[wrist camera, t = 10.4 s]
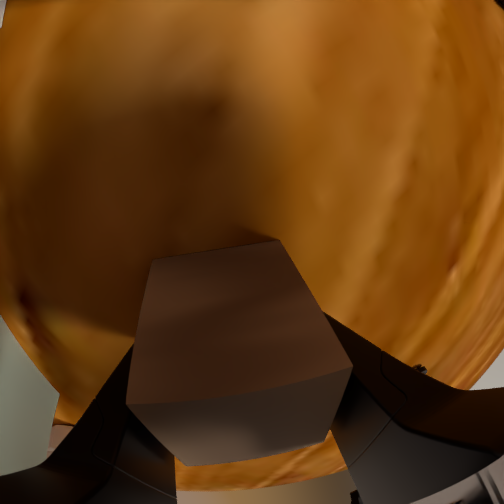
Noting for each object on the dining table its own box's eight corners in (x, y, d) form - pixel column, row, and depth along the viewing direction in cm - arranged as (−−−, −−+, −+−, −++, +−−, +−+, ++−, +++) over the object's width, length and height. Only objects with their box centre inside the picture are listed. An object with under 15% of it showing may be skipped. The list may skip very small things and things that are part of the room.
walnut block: (279, 240, 9) (353, 366, 4) (281, 330, 10) (323, 441, 6) (152, 259, 8) (125, 404, 4) (181, 346, 10) (186, 466, 6)
